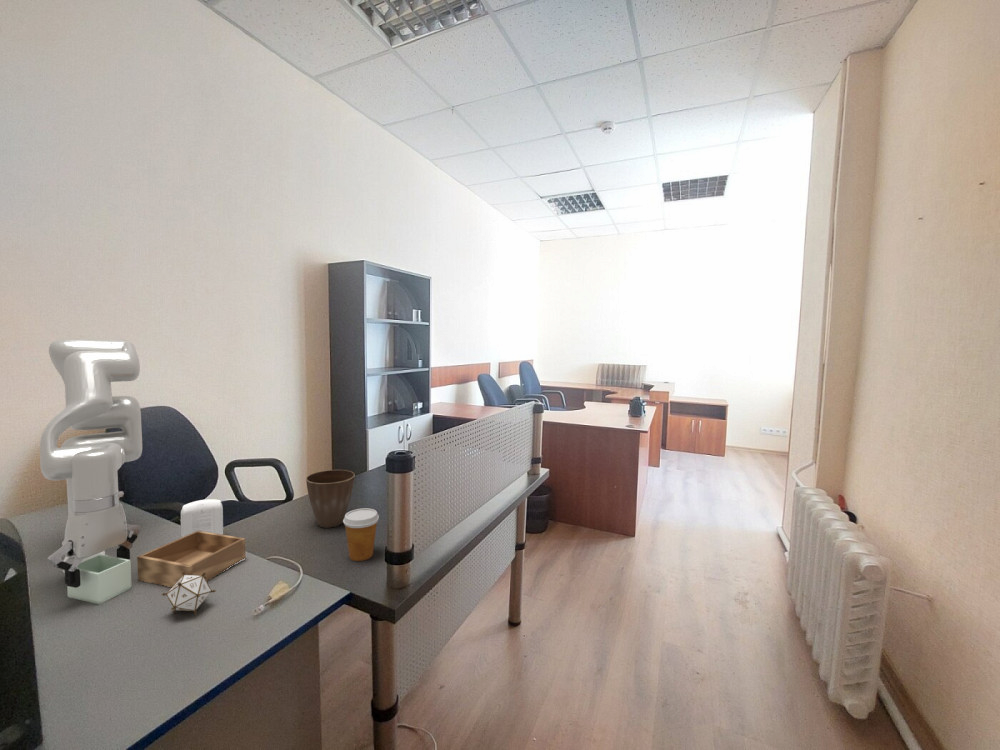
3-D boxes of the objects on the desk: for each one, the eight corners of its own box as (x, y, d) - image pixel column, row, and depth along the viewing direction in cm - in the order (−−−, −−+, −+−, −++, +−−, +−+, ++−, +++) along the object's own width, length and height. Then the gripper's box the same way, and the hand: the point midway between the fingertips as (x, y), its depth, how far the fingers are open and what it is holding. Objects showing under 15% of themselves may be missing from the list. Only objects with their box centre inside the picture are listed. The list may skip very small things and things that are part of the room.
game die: (187, 631, 90) (162, 614, 83) (171, 605, 94) (146, 587, 87) (228, 597, 95) (208, 578, 89) (212, 574, 99) (191, 554, 93)
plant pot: (342, 510, 148) (342, 466, 147) (362, 523, 138) (362, 476, 137) (299, 522, 138) (298, 475, 137) (317, 537, 127) (317, 486, 126)
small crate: (67, 596, 95) (66, 567, 95) (101, 581, 102) (100, 554, 101) (98, 604, 93) (97, 574, 92) (131, 588, 99) (130, 560, 99)
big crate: (137, 580, 103) (137, 556, 102) (198, 551, 118) (197, 530, 117) (189, 591, 98) (188, 567, 98) (245, 559, 113) (245, 538, 113)
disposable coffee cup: (385, 551, 119) (386, 511, 118) (362, 567, 111) (361, 523, 110) (360, 544, 123) (360, 505, 122) (335, 559, 114) (335, 517, 114)
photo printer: (223, 534, 128) (222, 495, 128) (223, 539, 125) (222, 499, 124) (181, 542, 123) (180, 501, 122) (180, 548, 119) (179, 506, 118)
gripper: (126, 490, 105) (129, 555, 106) (35, 515, 88) (39, 593, 89) (148, 492, 103) (151, 559, 104) (59, 518, 87) (63, 598, 87)
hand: (99, 575), depth 97 cm, fingers open, 9 cm apart
